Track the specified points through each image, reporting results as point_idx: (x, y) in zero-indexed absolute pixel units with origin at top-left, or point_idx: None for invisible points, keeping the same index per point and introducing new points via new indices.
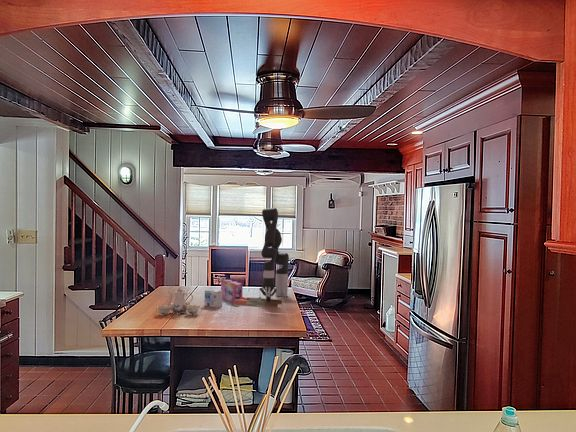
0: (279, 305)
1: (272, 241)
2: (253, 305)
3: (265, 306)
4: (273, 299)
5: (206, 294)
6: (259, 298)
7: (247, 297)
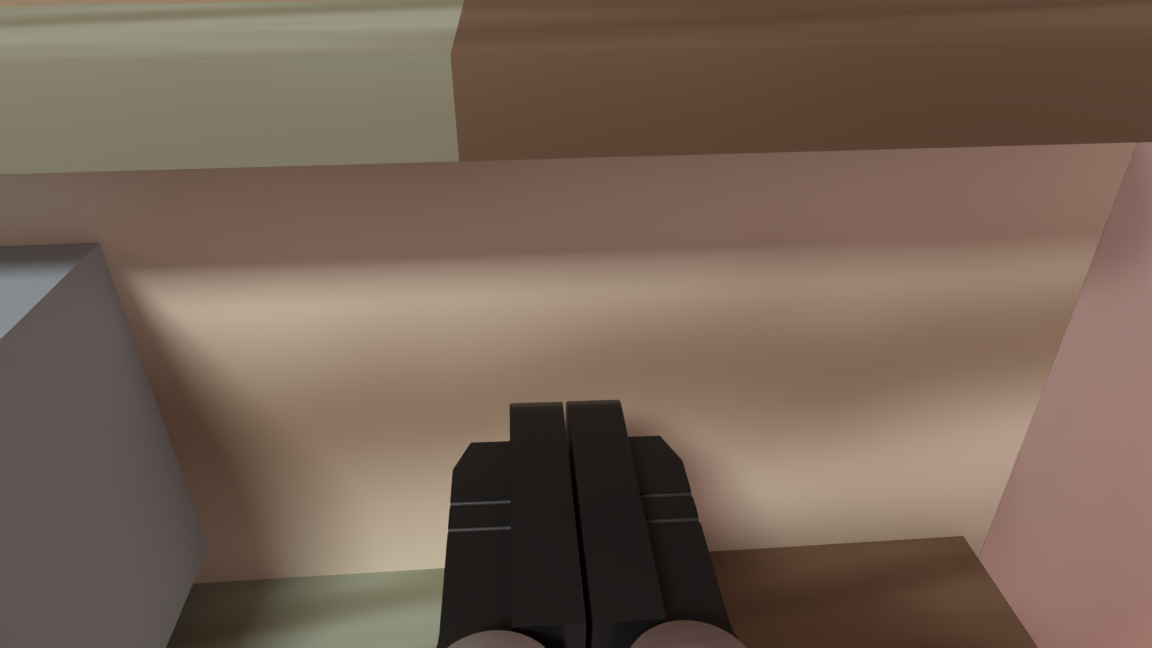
0: (1028, 326)
1: None
2: None
3: None
4: (788, 150)
5: None
6: (34, 646)
7: None
